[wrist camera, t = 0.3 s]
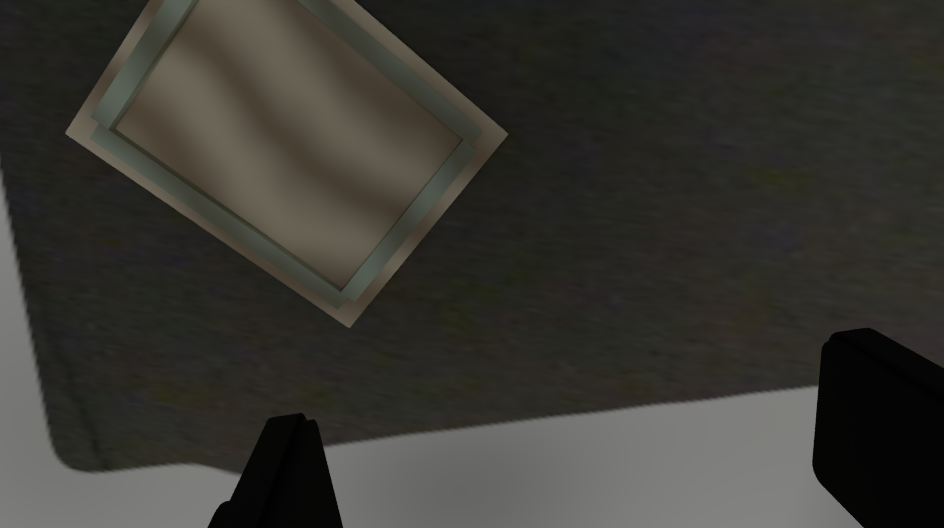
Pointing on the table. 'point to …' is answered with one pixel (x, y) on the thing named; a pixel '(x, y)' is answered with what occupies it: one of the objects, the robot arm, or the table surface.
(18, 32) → the table surface
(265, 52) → the tray
